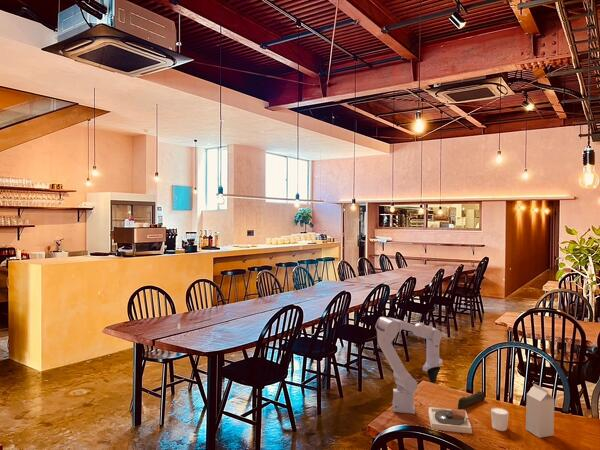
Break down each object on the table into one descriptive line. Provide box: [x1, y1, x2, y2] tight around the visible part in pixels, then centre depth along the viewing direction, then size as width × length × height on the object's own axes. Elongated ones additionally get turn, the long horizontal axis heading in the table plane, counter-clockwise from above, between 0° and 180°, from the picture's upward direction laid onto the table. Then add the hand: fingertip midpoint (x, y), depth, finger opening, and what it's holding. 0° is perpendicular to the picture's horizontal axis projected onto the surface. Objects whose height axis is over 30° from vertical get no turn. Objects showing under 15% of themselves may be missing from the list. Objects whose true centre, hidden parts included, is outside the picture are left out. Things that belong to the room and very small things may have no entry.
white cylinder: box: [490, 407, 510, 432], centre depth 183 cm, size 7×7×7 cm
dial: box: [435, 408, 467, 425], centre depth 187 cm, size 12×12×4 cm
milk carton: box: [525, 383, 555, 439], centre depth 179 cm, size 7×7×19 cm
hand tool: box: [457, 390, 486, 410], centre depth 205 cm, size 19×4×5 cm, turn 124°
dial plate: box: [427, 406, 473, 435], centre depth 188 cm, size 16×16×2 cm
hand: (432, 382), depth 204 cm, fingers closed
